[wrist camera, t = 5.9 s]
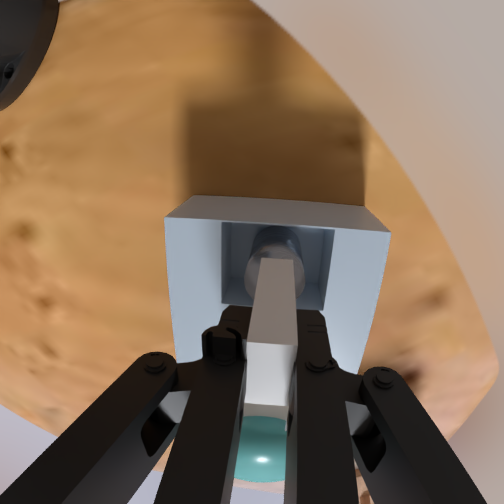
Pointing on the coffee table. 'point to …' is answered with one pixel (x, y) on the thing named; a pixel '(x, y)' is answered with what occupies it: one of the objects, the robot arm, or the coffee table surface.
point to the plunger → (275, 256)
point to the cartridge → (262, 443)
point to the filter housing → (237, 255)
